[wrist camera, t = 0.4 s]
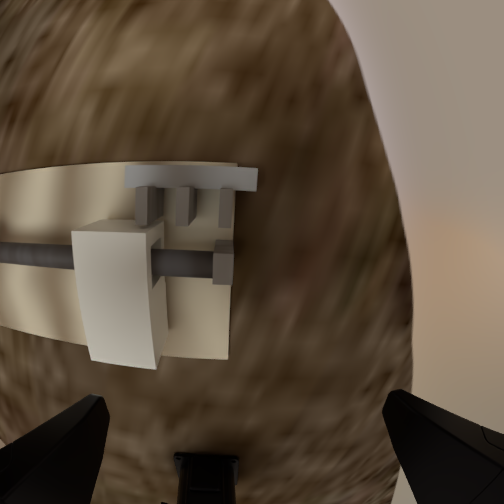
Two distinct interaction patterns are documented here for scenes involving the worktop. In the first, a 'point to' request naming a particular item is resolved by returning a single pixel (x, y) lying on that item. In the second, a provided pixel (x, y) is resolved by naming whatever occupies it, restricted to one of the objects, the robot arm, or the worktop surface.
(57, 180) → the cable comb
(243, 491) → the worktop surface
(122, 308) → the sleeve
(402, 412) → the robot arm
